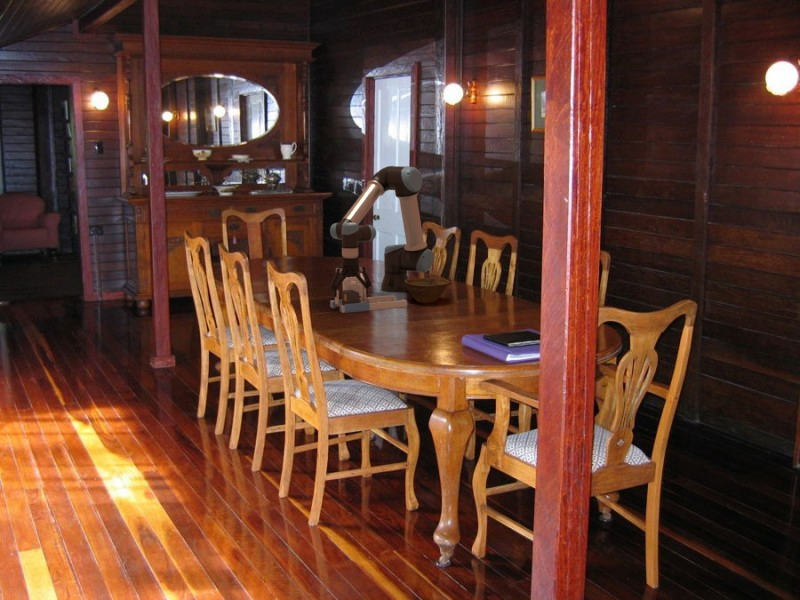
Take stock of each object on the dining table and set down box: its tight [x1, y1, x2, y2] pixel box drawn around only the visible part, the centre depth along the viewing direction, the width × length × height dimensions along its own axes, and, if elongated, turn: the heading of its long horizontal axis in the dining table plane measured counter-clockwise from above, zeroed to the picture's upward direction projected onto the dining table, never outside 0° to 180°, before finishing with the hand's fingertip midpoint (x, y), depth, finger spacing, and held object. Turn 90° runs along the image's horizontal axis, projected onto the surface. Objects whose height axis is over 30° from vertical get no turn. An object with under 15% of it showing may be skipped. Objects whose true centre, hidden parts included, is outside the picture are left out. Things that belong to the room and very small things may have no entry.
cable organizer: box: [341, 272, 366, 298], centre depth 449 cm, size 15×11×12 cm
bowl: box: [405, 277, 450, 304], centre depth 441 cm, size 22×23×10 cm
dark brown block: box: [341, 289, 360, 306], centre depth 424 cm, size 5×9×8 cm, turn 25°
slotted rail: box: [329, 294, 408, 314], centre depth 428 cm, size 32×16×4 cm, turn 115°
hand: (350, 302), depth 424 cm, fingers open, 13 cm apart
